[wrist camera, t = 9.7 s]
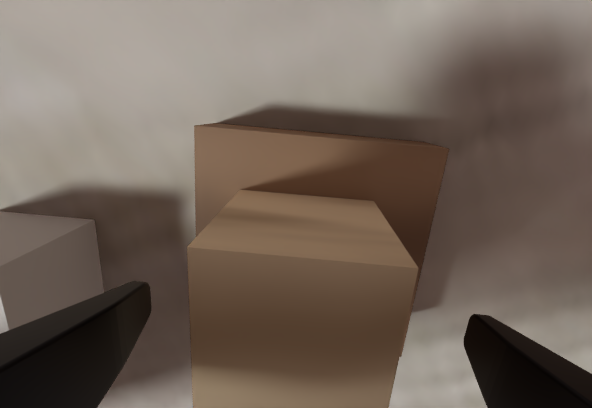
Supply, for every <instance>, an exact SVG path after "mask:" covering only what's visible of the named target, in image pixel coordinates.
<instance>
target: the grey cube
mask: <svg viewBox="0 0 592 408" xmlns="http://www.w3.org/2000/svg"><path fill="white" fill-rule="evenodd" d="M102 293H104V287H103V279H102V272H101V264H100V257H99V249H98V241H97V234H96V226H95V220H93V219H82V218H71V217H59V216H48V215H37V214H25V213H14V212H3V211H0V334H1V333H3V332H6V331H8V330H11V329H13V328H16V327H18V326H21V325H23V324H26V323H29V322H31V321H34V320H36V319H39V318H41V317H44V316H46V315H49V314H51V313H54V312H56V311H59V310H61V309H64V308H67V307H69V306H72V305H74V304H77V303H79V302H82V301H84V300H87V299H89V298H92V297H94V296H97V295H99V294H102Z"/></svg>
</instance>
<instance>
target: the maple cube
mask: <svg viewBox="0 0 592 408" xmlns="http://www.w3.org/2000/svg"><path fill="white" fill-rule="evenodd" d="M187 262H188V288H189V314H190V340H191V366H192V392H193V408H388V407H389V402H390V397H391V393H392V388H393V384H394V379H395V374H396V370H397V365H398V361H399V356H400V351H401V347H402V342H403V338H404V333H405V329H406V324H407V319H408V315H409V310H410V306H411V301H412V296H413V292H414V287H415V283H416V278H417V273H418V269H419V268H418V267H417V265H416V264H415V262H414V261H413V259H412V258H411V256H410V255H409V253H408V252H407V250H406V249H405V247H404V246H403V244H402V243H401V241H400V240H399V238H398V237H397V235H396V234H395V232H394V231H393V229H392V228H391V226H390V225H389V223H388V222H387V220H386V219H385V217H384V216H383V214H382V213H381V211H380V210H379V208H378V207H377V205H376V204H375V202H374V201H367V200H355V199H344V198H332V197H320V196H308V195H297V194H285V193H273V192H261V191H249V190H239V191H238V192H237V194H236V195H235V196H234V197H233V198H232V199H231V200H230V201H229V202H228V203H227V204H226V205H225V207H224V208H223V209H222V210H221V211H220V212H219V213H218V214H217V215H216V216H215V217H214V218H213V219H212V221H211V222H210V223H209V224H208V225H207V226H206V227H205V228H204V229H203V230H202V231H201V232H200V234H199V235H198V236H197V237H196V238H195V239H194V240H193V241H192V242H191V243H190V244H189V245H188V246H187Z"/></svg>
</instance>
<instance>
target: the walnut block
mask: <svg viewBox="0 0 592 408" xmlns="http://www.w3.org/2000/svg"><path fill="white" fill-rule="evenodd" d="M194 136H195V209H196V237H197V236H198V235H199V234H200V232H201V231H202V230H203V229H204V228H205V227H206V226H207V225H208V224H209V223H210V222H211V221H212V219H213V218H214V217H215V216H216V215H217V214H218V213H219V212H220V211H221V210H222V209H223V208H224V207H225V205H226V204H227V203H228V202H229V201H230V200H231V199H232V198H233V197H234V196H235V195H236V194H237V192H238V191H239V190H249V191H261V192H273V193H285V194H297V195H308V196H320V197H332V198H344V199H355V200H367V201H374V202H375V204H376V205H377V207H378V208H379V210H380V211H381V213H382V214H383V216H384V217H385V219H386V220H387V222H388V223H389V225H390V226H391V228H392V229H393V231H394V232H395V234H396V235H397V237H398V238H399V240H400V241H401V243H402V244H403V246H404V247H405V249H406V250H407V252H408V253H409V255H410V256H411V258H412V259H413V261H414V262H415V264H416V265H417V267H418V268H419V269H418V273H417V278H416V283H415V287H414V292H413V296H412V301H411V306H410V310H409V315H408V319H407V324H406V329H405V333H404V338H403V342H402V347H401V351H400V357H401V355H402V350H403V346H404V342H405V338H406V333H407V329H408V325H409V320H410V316H411V312H412V307H413V303H414V299H415V294H416V290H417V286H418V281H419V277H420V273H421V269H422V264H423V260H424V256H425V251H426V247H427V243H428V238H429V234H430V230H431V225H432V221H433V217H434V212H435V208H436V204H437V199H438V195H439V191H440V187H441V182H442V178H443V174H444V169H445V165H446V161H447V156H448V152H449V149H448V148H445V147H441V146H437V145H433V144H430V143H426V142H419V141H408V140H397V139H386V138H375V137H364V136H353V135H342V134H331V133H320V132H309V131H298V130H287V129H275V128H264V127H253V126H242V125H231V124H220V123H213V124H204V125H195V126H194Z"/></svg>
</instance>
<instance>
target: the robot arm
mask: <svg viewBox="0 0 592 408" xmlns="http://www.w3.org/2000/svg"><path fill="white" fill-rule="evenodd" d="M150 313H151V296H150V286H149V284H148V283H146V282H137V281H133V282H130V283H127V284H125V285H122V286H120V287H117V288H115V289H112V290H110V291H107V292H105V293H102V294H99V295H97V296H94V297H92V298H89V299H87V300H84V301H82V302H79V303H77V304H74V305H72V306H69V307H67V308H64V309H61V310H59V311H56V312H54V313H51V314H49V315H46V316H44V317H41V318H39V319H36V320H34V321H31V322H29V323H26V324H23V325H21V326H18V327H16V328H13V329H11V330H8V331H6V332H3V333H1V334H0V408H97V407H98V405H99V404H100V402H101V401H102V399H103V398H104V396H105V394H106V393H107V391H108V390H109V388H110V387H111V385H112V384H113V382H114V381H115V379H116V377H117V376H118V374H119V373H120V371H121V369H122V368H123V366H124V364H125V362H126V361H127V359H128V357H129V355H130V353H131V351H132V349H133V347H134V345H135V343H136V341H137V340H138V338H139V336H140V334H141V332H142V330H143V328H144V326H145V324H146V322H147V320H148V318H149V316H150ZM464 347H465V350H466V353H467V356H468V358H469V361H470V364H471V366H472V369H473V372H474V374H475V377H476V379H477V382H478V385H479V387H480V390H481V393H482V395H483V398H484V400H485V403H486V405H487V407H488V408H592V374H591V373H589V372H587V371H586V370H584V369H582V368H580V367H578V366H577V365H575V364H573V363H571V362H570V361H568V360H566V359H564V358H563V357H561V356H559V355H557V354H556V353H554V352H552V351H550V350H549V349H547V348H545V347H543V346H542V345H540V344H538V343H536V342H535V341H533V340H531V339H529V338H528V337H526V336H524V335H522V334H521V333H519V332H517V331H515V330H514V329H512V328H510V327H508V326H507V325H505V324H503V323H501V322H500V321H498V320H496V319H494V318H493V317H491V316H488V315H480V314H473V315H472V316H471V317H470V319H469V322H468V326H467V329H466V333H465V336H464Z"/></svg>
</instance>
